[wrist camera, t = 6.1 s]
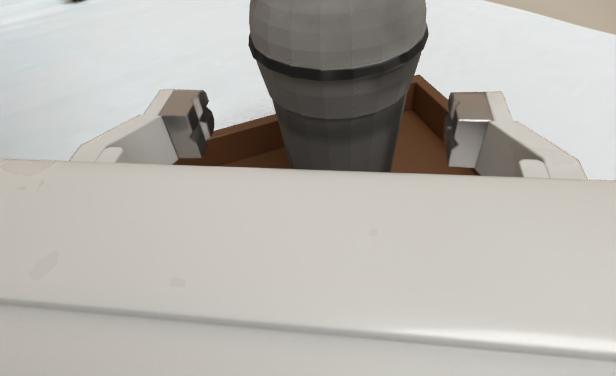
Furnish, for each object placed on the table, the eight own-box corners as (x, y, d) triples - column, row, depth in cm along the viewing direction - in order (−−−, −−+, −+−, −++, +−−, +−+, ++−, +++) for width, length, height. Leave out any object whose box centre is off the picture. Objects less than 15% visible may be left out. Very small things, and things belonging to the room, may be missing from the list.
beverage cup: (343, 290, 21) (323, -303, 7) (258, 217, 26) (139, -257, 11) (429, 214, 25) (531, -306, 10) (341, 159, 29) (328, -269, 14)
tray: (164, 178, 29) (150, 147, 27) (415, 105, 33) (419, 73, 31) (206, 430, 18) (187, 410, 16) (585, 273, 21) (609, 241, 19)
